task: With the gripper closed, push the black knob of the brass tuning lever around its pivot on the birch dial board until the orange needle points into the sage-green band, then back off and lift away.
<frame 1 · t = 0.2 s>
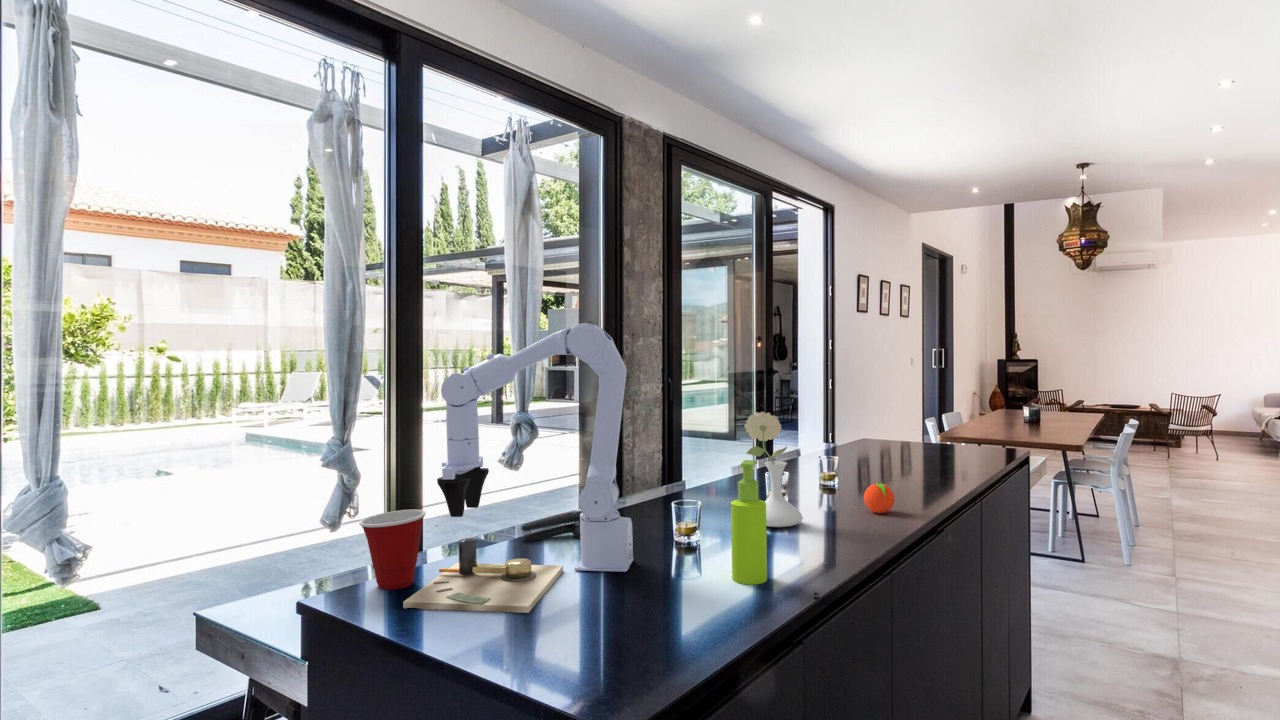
hand: (464, 511, 138), 10 cm above the worktop, tool pointing down, fingers open, 7 cm apart
tuning lever: (484, 556, 128), point 4 cm above the worktop, hinge at 0.0°
soap dispenser: (750, 579, 127), on the worktop
flower in vase: (773, 525, 165), on the worktop
dial board: (489, 588, 124), on the worktop
can opener: (563, 539, 158), on the worktop
clementine: (880, 514, 174), on the worktop
plastic cup: (394, 585, 127), on the worktop
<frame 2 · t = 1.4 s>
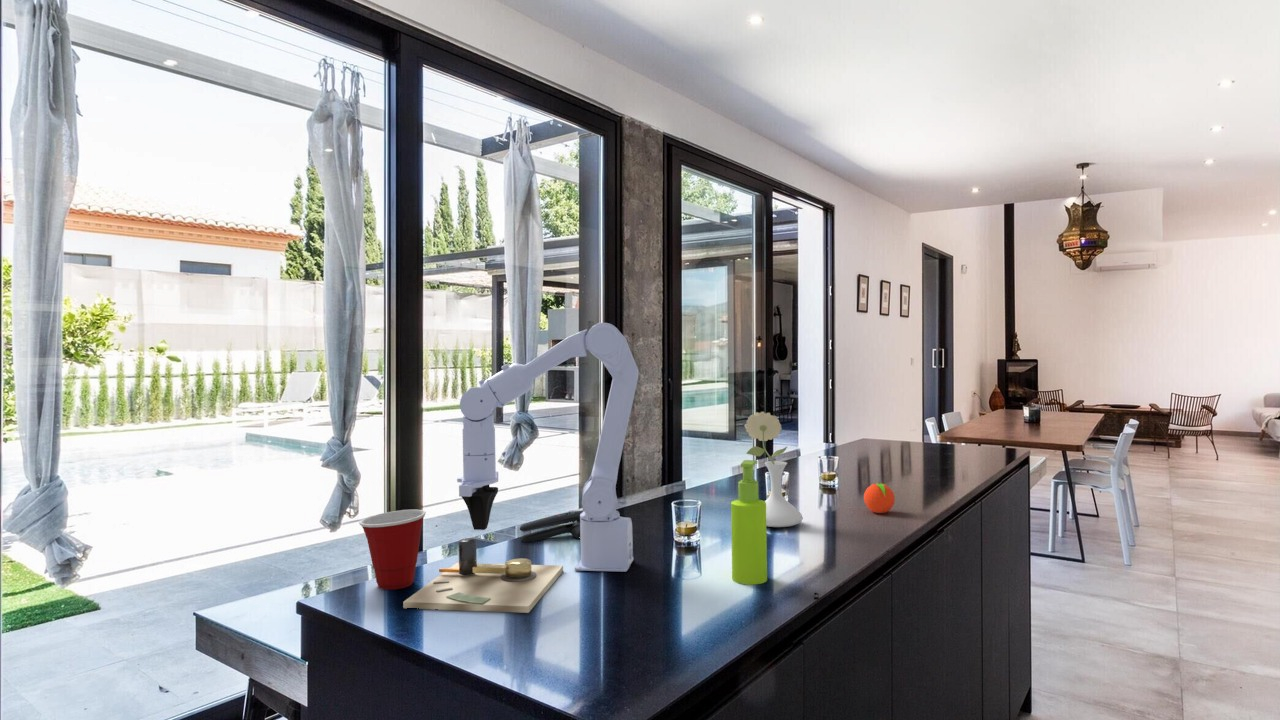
hand: (480, 528, 135), 7 cm above the worktop, tool pointing down, fingers closed
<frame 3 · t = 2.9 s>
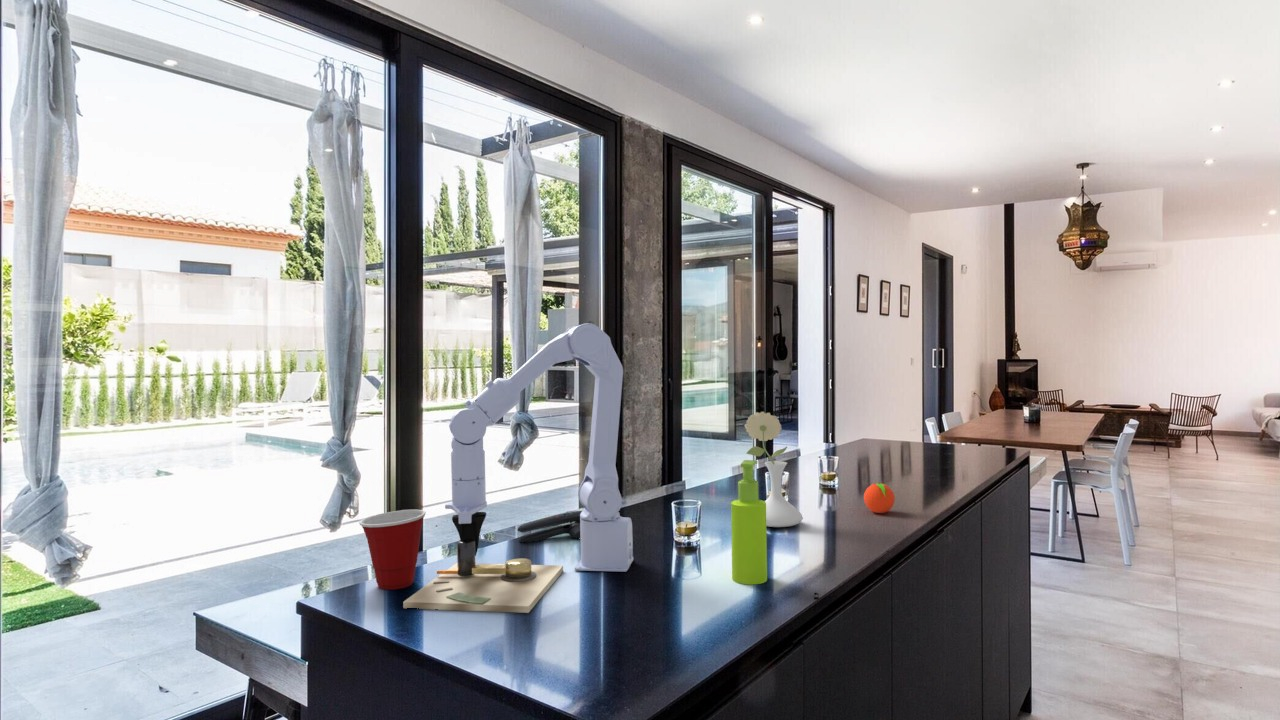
hand: (470, 555, 130), 4 cm above the worktop, tool pointing down, fingers closed
tuning lever: (483, 557, 127), point 4 cm above the worktop, hinge at 4.4°, touching gripper
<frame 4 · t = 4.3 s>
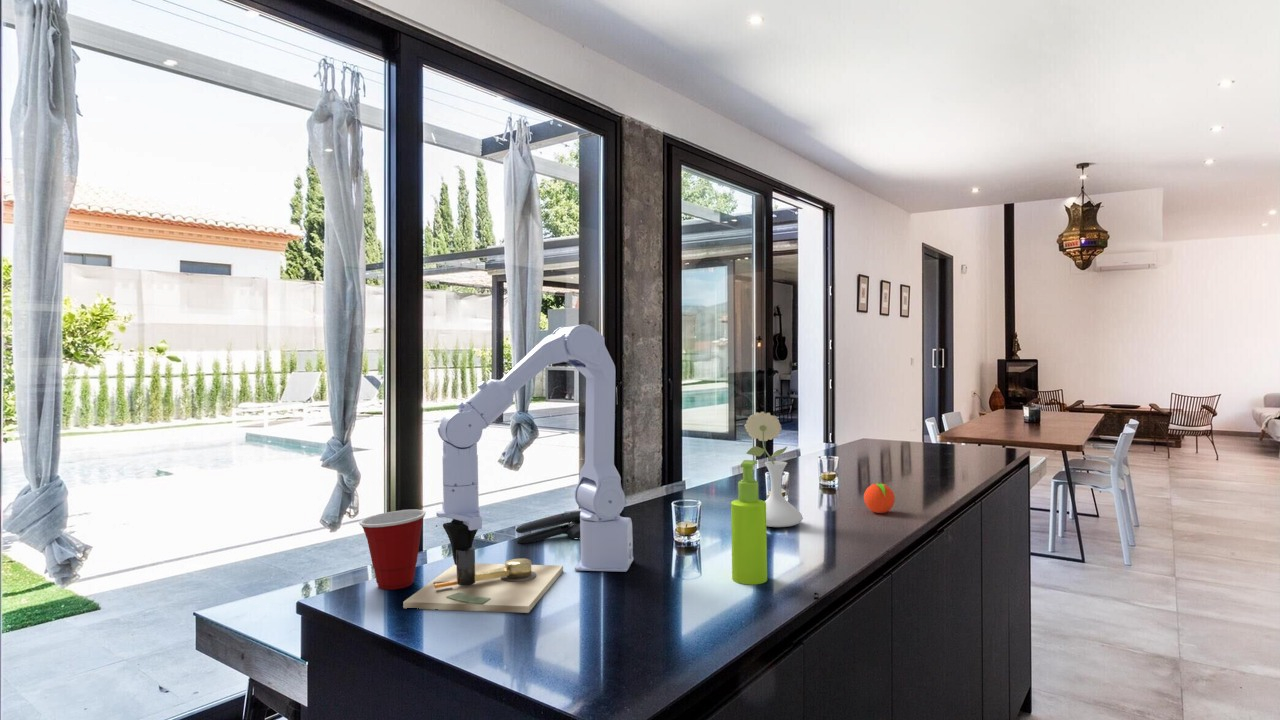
hand: (462, 564, 125), 4 cm above the worktop, tool pointing down, fingers closed
tuning lever: (484, 563, 124), point 4 cm above the worktop, hinge at 37.0°, touching gripper
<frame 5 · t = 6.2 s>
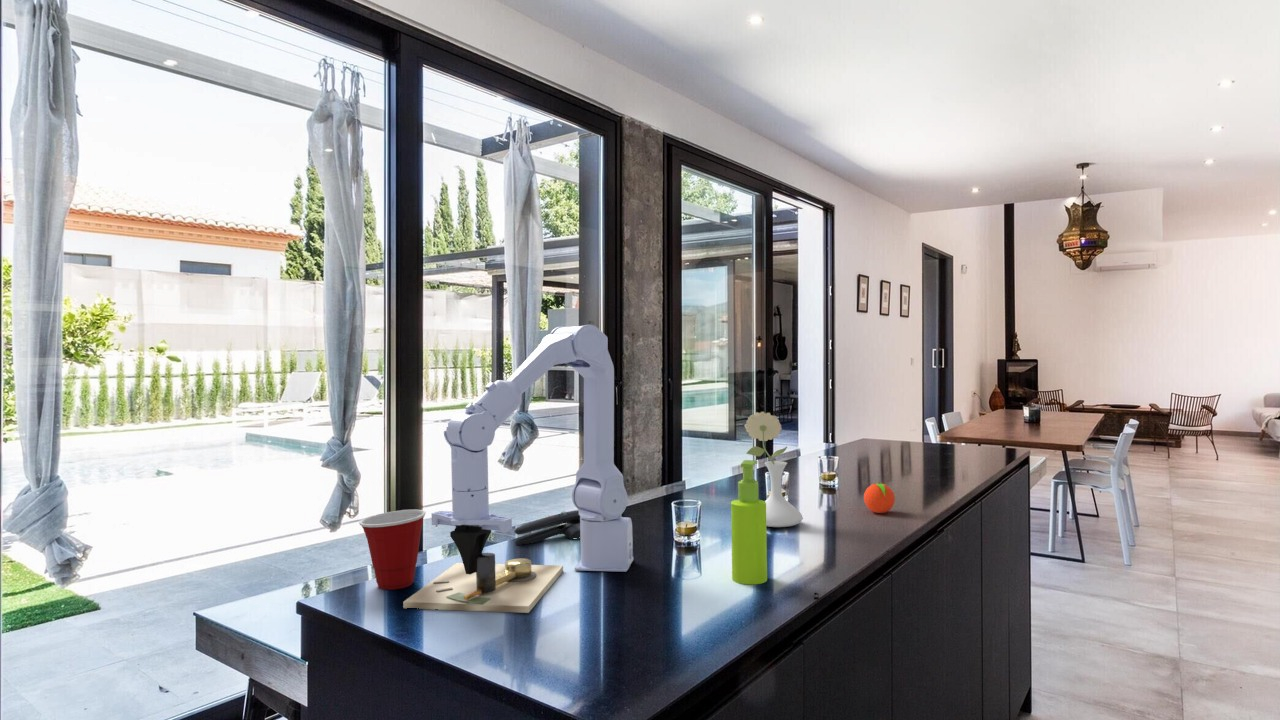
hand: (472, 572, 120), 4 cm above the worktop, tool pointing down, fingers closed
tuning lever: (497, 567, 121), point 4 cm above the worktop, hinge at 73.2°, touching gripper
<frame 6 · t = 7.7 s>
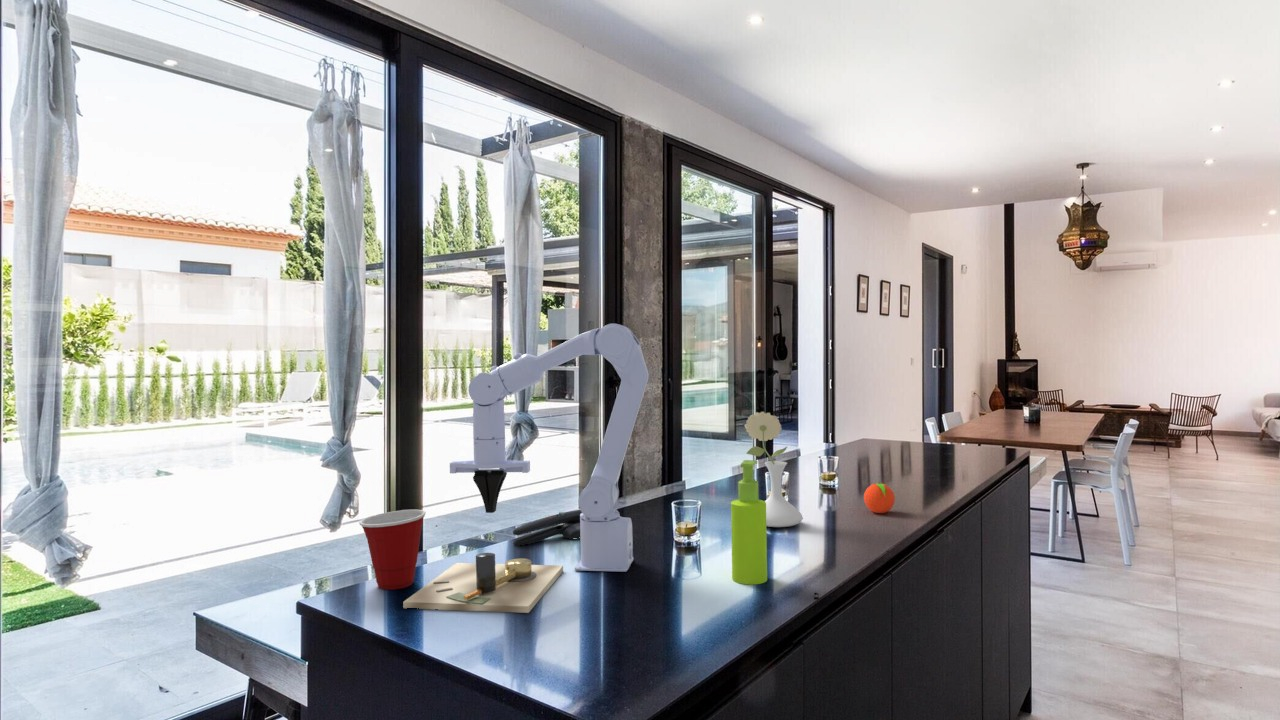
hand: (490, 511, 137), 10 cm above the worktop, tool pointing down, fingers closed
tuning lever: (497, 567, 121), point 4 cm above the worktop, hinge at 73.2°
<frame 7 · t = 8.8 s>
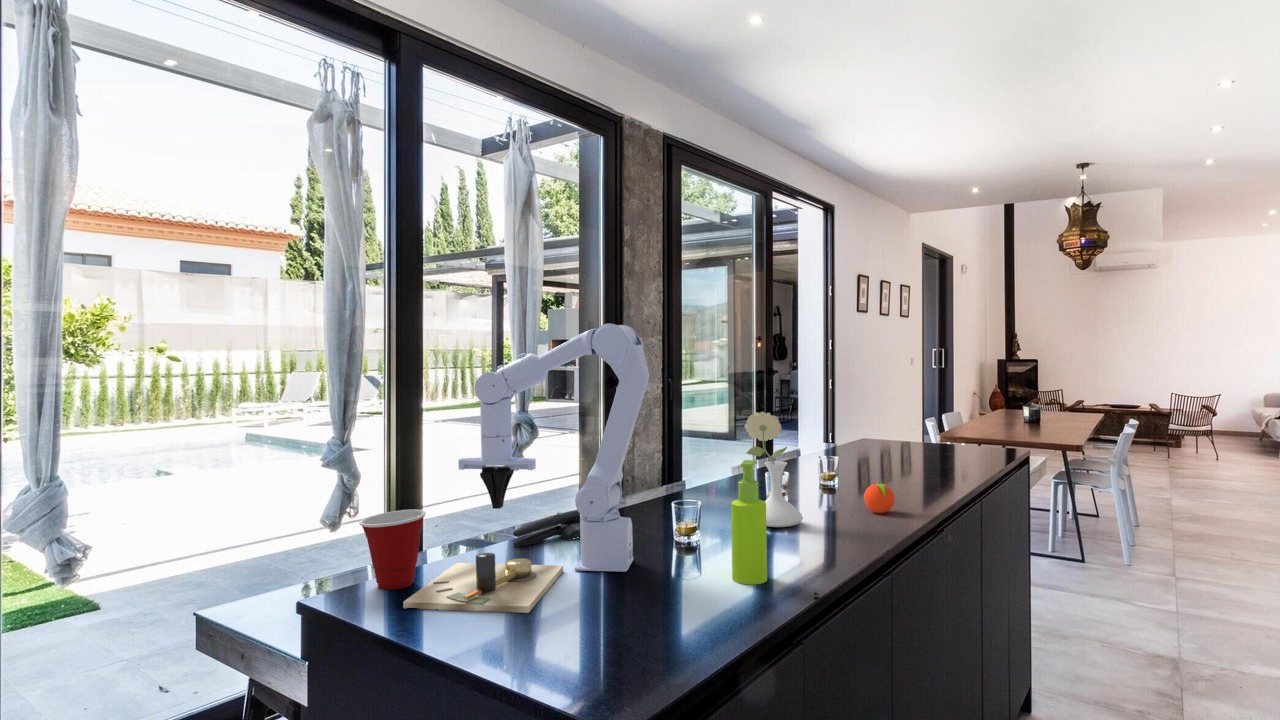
hand: (497, 507, 141), 10 cm above the worktop, tool pointing down, fingers closed
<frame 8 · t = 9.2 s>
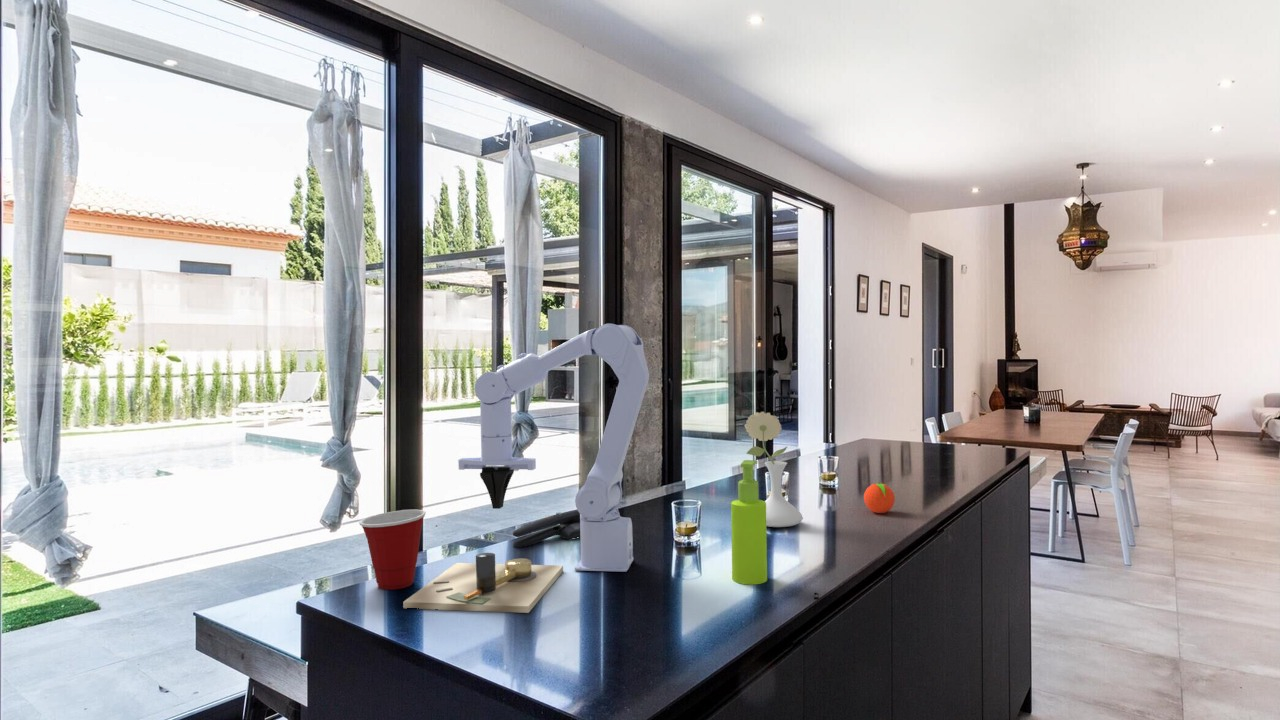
hand: (497, 507, 141), 10 cm above the worktop, tool pointing down, fingers closed
at the end: tuning lever at +73° (first picture: +0°) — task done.
